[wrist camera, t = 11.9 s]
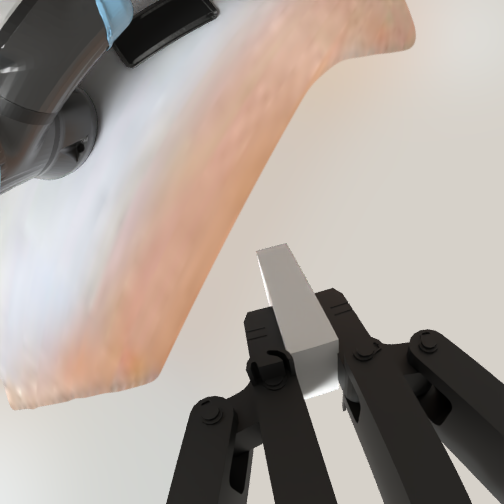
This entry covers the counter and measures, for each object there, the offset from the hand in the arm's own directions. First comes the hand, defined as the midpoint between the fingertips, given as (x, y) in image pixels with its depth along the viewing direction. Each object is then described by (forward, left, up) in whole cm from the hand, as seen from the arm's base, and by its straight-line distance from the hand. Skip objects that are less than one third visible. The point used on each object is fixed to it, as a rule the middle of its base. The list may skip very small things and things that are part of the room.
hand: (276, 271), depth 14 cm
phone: (-5, +25, -30) cm, 39 cm away
